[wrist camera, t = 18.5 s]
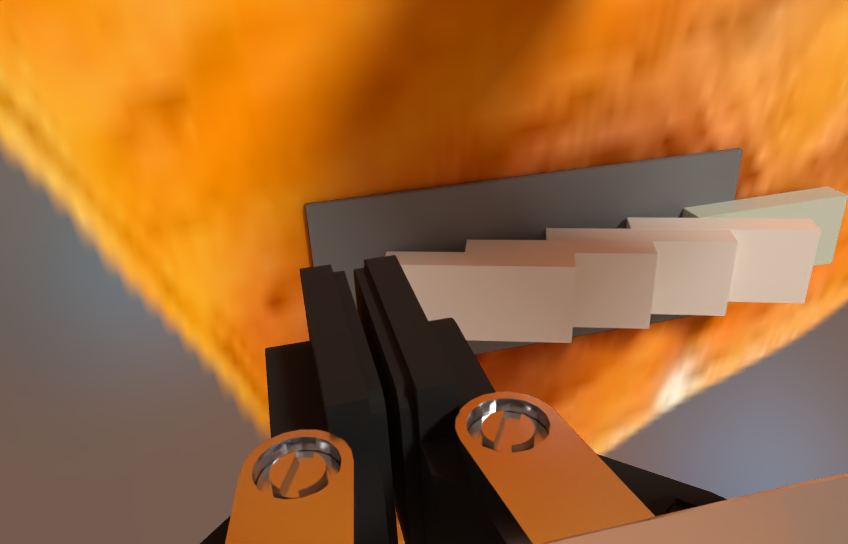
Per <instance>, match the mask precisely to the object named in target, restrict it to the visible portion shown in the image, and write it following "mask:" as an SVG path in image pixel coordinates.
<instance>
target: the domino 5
mask: <svg viewBox="0 0 848 544" xmlns="http://www.w3.org/2000/svg"><path fill="white" fill-rule="evenodd" d="M847 197H848V195H847V194H844V193H842V192H840V191H837V190H835V189H833V188H830V187H828V186H827V187H820V188H813V189H807V190H800V191H793V192H787V193H780V194H773V195H767V196H760V197H753V198H747V199H740V200H733V201H727V202H720V203H713V204H707V205H700V206H693V207H686V208H683V215H682V218H804V219H811V220H812V221H813V222H814V223H815V224H816V225H817V226H818V227H819V228H820V229H821V234H820V238H819V243H818V247H817V251H816V255H815V260H814V264H813V266H816V265H822V264H828V263H832V260H833V255H834V251H835V247H836V243H837V239H838V235H839V231H840V226H841V222H842V218H843V214H844V210H845V206H846V201H847Z"/></svg>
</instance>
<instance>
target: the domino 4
mask: <svg viewBox="0 0 848 544" xmlns="http://www.w3.org/2000/svg"><path fill="white" fill-rule="evenodd" d="M626 229H718V230H731V232H732V233H733V235H734V236H735V238H736V239H737V241H738V245H737V251H736V257H735V262H734V268H733V274H732V280H731V285H730V291H729V297H728V302H773V303H805V298H806V294H807V290H808V285H809V281H810V277H811V273H812V268H813V264H814V260H815V255H816V251H817V247H818V243H819V238H820V234H821V229H820V228H819V227H818V226H817V225H816V224H815V223H814V222H813V221H812V220H811V219H804V218H640V217H627V225H626Z"/></svg>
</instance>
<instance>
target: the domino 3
mask: <svg viewBox="0 0 848 544" xmlns="http://www.w3.org/2000/svg"><path fill="white" fill-rule="evenodd" d="M546 240H601V241H653V243H654V246H655V248H656V251H657V253H658V256H657V265H656V274H655V282H654V291H653V299H652V308H651V314H671V315H712V316H725V314H726V308H727V302H728V297H729V291H730V285H731V280H732V274H733V268H734V262H735V257H736V251H737V245H738V241H737V239H736V238H735V236H734V235H733V233H732V232H731V230H718V229H601V228H546Z"/></svg>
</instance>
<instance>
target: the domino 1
mask: <svg viewBox="0 0 848 544" xmlns="http://www.w3.org/2000/svg"><path fill="white" fill-rule="evenodd" d="M391 255H395V256H396V257H397V259H398V261H399V263H400V265H401V267H402V269H403V271H404V273H405V275H406V277H407V279H408V281H409V283H410V285H411V287H412V289H413V291H414V293H415V295H416V297H417V299H418V301H419V303H420V305H421V307H422V309H423V311H424V313H425V315H426V317H427V319H428V321H432V320H438V319H444V318H453V319H454V320H455V321H456V323H457V325H458V327H459V328H460V330H461V332H462V334H463V335H464V337H465V339H466V340H475V341H513V342H552V343H572V328H573V311H574V294H575V276H576V264H575V258H574V253H510V252H402V251H387V252H386V254H385V256H391Z"/></svg>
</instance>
